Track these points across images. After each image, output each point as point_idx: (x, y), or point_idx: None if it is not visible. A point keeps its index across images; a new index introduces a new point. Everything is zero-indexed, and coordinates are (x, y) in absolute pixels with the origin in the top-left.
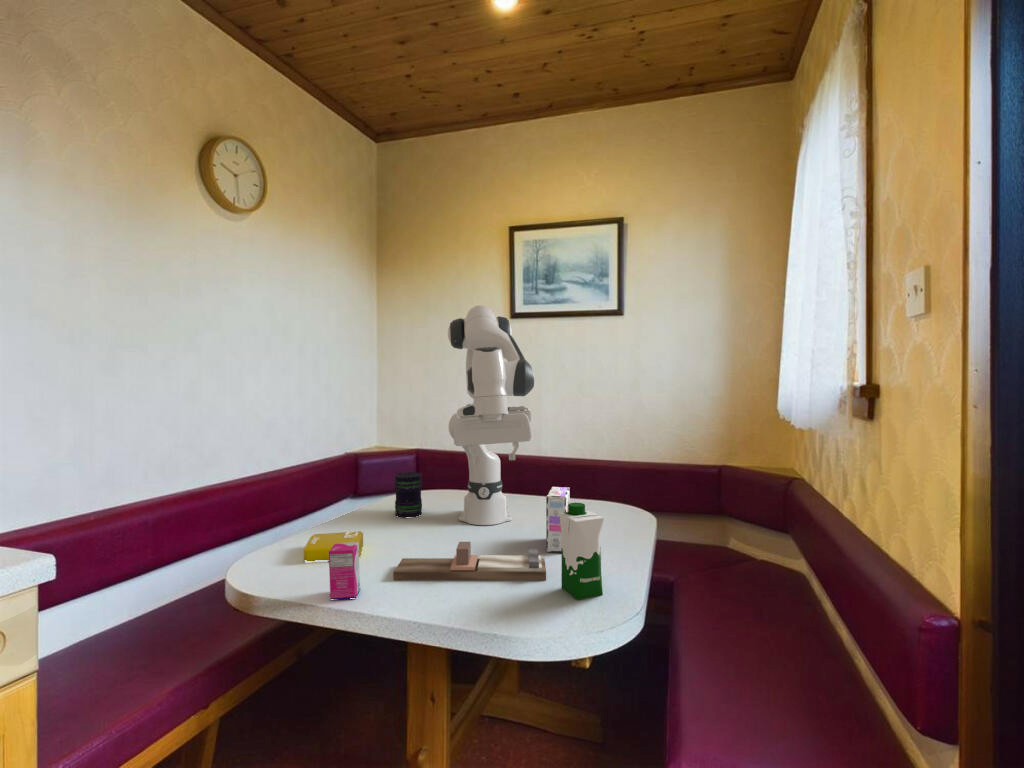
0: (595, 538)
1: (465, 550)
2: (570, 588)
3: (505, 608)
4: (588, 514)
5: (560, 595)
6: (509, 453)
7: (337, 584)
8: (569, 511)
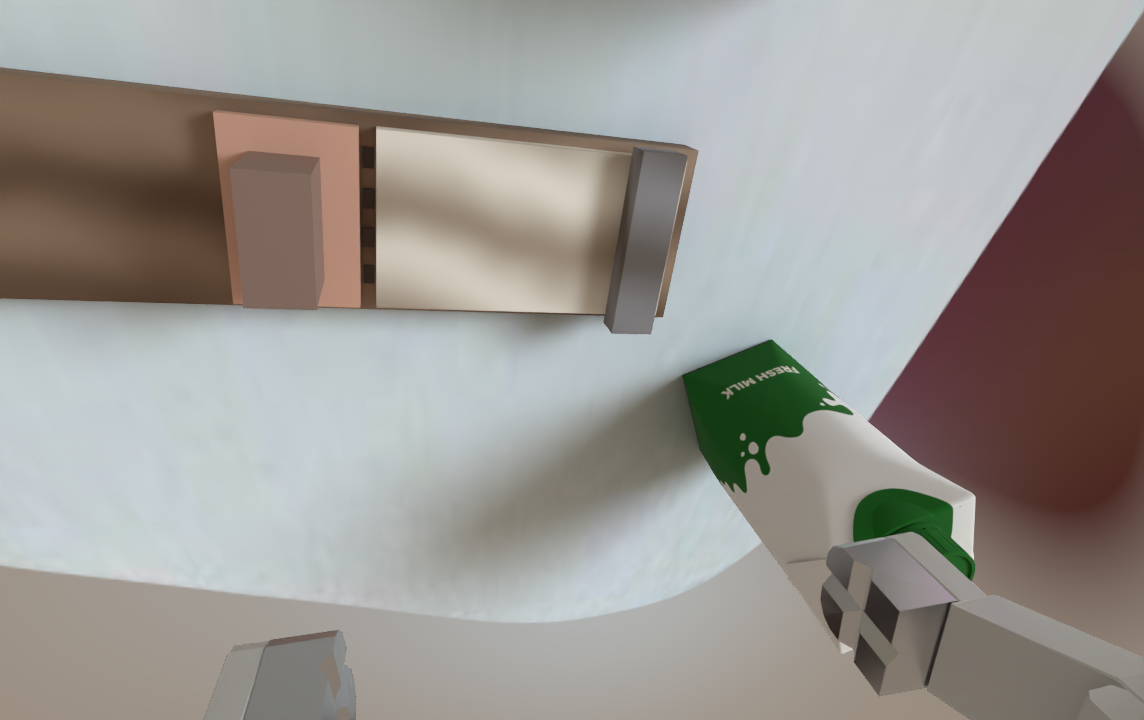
0: None
1: (301, 306)
2: (701, 444)
3: (485, 505)
4: None
5: (664, 420)
6: (898, 646)
7: None
8: None
